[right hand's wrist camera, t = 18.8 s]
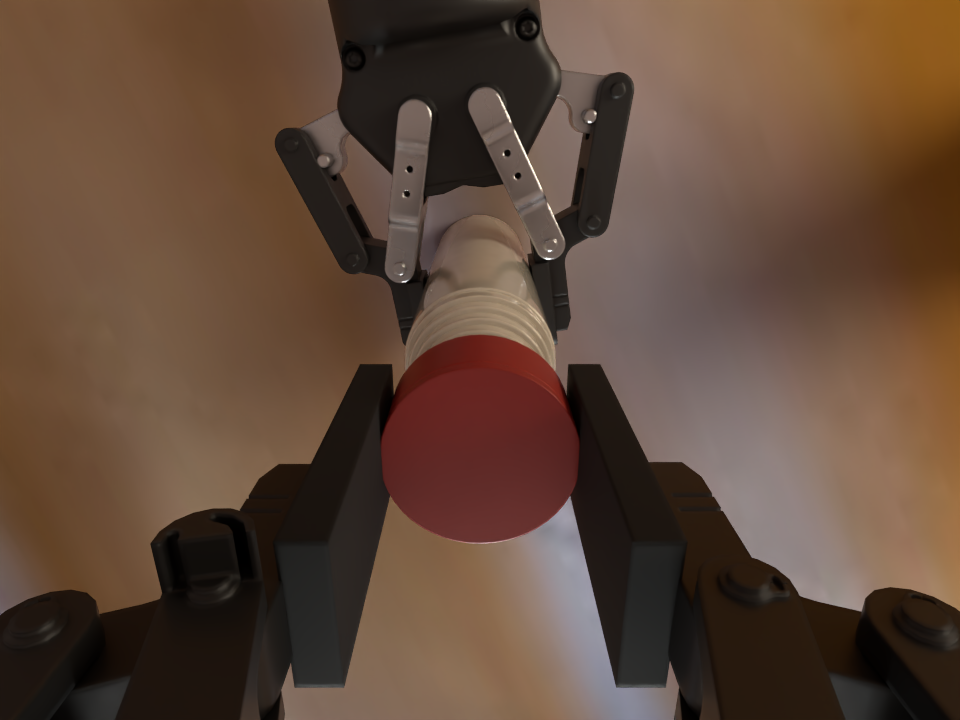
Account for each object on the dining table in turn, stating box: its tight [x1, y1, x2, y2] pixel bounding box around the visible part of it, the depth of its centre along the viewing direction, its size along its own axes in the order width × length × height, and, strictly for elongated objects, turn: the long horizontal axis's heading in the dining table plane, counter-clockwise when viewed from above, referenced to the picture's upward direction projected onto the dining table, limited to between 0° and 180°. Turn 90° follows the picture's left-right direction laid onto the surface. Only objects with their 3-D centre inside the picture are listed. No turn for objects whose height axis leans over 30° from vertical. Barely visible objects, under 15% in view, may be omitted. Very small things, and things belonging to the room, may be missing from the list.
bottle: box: [405, 215, 556, 372], centre depth 23 cm, size 4×4×20 cm
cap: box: [381, 335, 580, 544], centre depth 14 cm, size 4×4×2 cm
